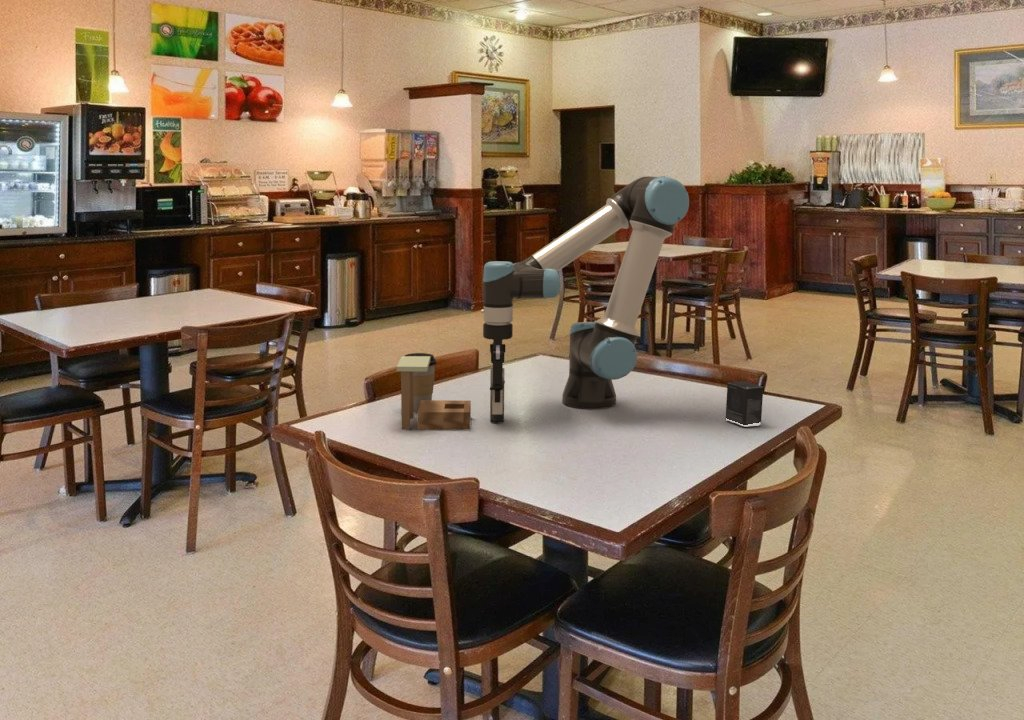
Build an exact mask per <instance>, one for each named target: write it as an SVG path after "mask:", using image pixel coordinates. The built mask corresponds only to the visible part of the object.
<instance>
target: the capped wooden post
mask: <svg viewBox="0 0 1024 720" xmlns="http://www.w3.org/2000/svg"><path fill="white" fill-rule="evenodd" d="M429 364H430V356H405V355H403V356H401V357H400V359H399V361H398V363H397V365H396V372H400V390H401V391H400V393H401V394H400V396H401V397H400V398H401V399H400V401H401V403H400V404H401V405H400V407H401V409H400V410H401V430H411V420H413V419H414V418H415V417H414V414H415V413H414V406H413V371H419V372H427V370H428V367H429Z"/></svg>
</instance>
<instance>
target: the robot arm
mask: <svg viewBox="0 0 1024 720" xmlns="http://www.w3.org/2000/svg"><path fill="white" fill-rule="evenodd" d="M605 202H606V203H605V205H603V206H602V207H601V208H599V209H598V210H596V211H594V212H592V214H590V215H589V216H588V217H586V218H584V219H583V220H581V221H580V222H579V223H577V224H576V225H574V226H572V227H571V228H569V230H566V231H565V232H563V234H561V235H559V236H558V237H556V238H555V239H553V240H552V241H551V242H550V243H547V244H546V245H545V246H543V247H542V248H541V249H539V250H538V251H536V252H535V253H533V254H531V256H529V257H527V258H525V259H524V260H522V261H519V262H518V261H517V262H515V263H513V262H512V261H500V260H499V261H498V260H495V261H488V262H486V263H485V264H484V265H483V274H482V275H483V276H482V277H483V278H482V282H483V283H482V285H483V286H482V287H483V294H482V295H483V305H482V306H483V309H481V310H480V313H481V314H483V315H482V316H483V318H482V319H483V324H482V337H483V338H484V339H487V340H493V342H492V343H490V344H489V353H490V363H492V368H493V386H492V388H490V387H489V391H490V390H492V414H503V385H502V378H503V368H504V367H503V364H504V363H505V353H506V344H505V343H503V340H509V339H512V338H513V324H512V322H514V317H513V316H514V300H521V299H523V300H526V299H528V300H529V299H531V300H532V299H533V300H534V299H538V300H539V299H544V300H546V299H554V298H556V297H558V295H559V293H560V288H561V280H560V275H559V271H560V270H562V269H564V268H565V267H566V266H568V265H569V264H571V263H572V262H574V261H575V260H577V259H578V258H579V257H581V256H582V255H583V254H585V253H587V252H588V251H590V250H591V249H593V248H594V247H596V246H597V245H599V244H600V243H602V242H603V241H604V240H606V239H607V238H609V237H610V236H612V235H614V234H615V233H616V232H618V231H620V229H624V230H625V229H626V230H627V229H629V228H631V229H632V231H631V233H630V237H629V240H628V243H627V246H626V249H625V252H624V255H623V258H622V261H621V264H620V266H619V270H618V274H617V277H616V280H615V281H614V282H615V283H614V285H613V288H612V292H611V294H610V297H609V301H608V302H607V307H606V310H605V312H604V315H603V316H602V317H601V318H599V319H597V320H596V321H582V322H580V321H579V322H573V323H572V324H571V325H570V329H569V330H570V331H569V334H568V335H569V365H568V366H569V367H568V368H569V369H568V370H569V371H568V378H567V381H566V384H565V386H564V389H563V392H562V397H561V398H562V399H561V401H562V404H564V405H565V406H568V407H571V408H576V409H583V410H585V409H586V410H600V409H609V408H611V407H614V406H616V404H617V393H616V390H615V387H614V384H613V380H614V381H615V380H619V379H623V378H625V377H627V376H628V375H629V374H630V373H631V372H632V371H633V369H634V368H635V366H636V364H637V361H638V352H637V349H636V343H637V340H638V337H639V333H638V331H637V328H636V325H637V321H638V318H639V316H640V312H641V310H642V307H643V304H644V301H645V297H646V294H647V292H648V290H649V286H650V283H651V280H652V277H653V273H654V271H655V268H656V265H657V262H658V260H659V257H660V253H661V251H662V248H663V244H664V242H665V240H666V239H667V238H670V237H671V236H673V234H674V230H675V228H676V224H677V223H679V222H680V221H681V220H683V218H685V216H686V214H687V213H688V211H689V207H690V198H689V192H688V191H687V189H686V187H685V186H684V184H682V183H681V181H679V180H678V179H676V178H672V177H669V176H668V177H667V176H665V175H664V176H641V177H639V178H637V179H635V180H633V181H631V182H630V183H628V184H627V185H626V186H624V187H623V188H621V189H619V190H618V191H617V192H616V193H615V194H612V195H611V196H610V197H608V198H607V199H606V201H605ZM505 383H506V381H505V379H504V384H505Z"/></svg>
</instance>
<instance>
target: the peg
mask: <svg viewBox="0 0 1024 720" xmlns="http://www.w3.org/2000/svg"><path fill="white" fill-rule="evenodd" d="M489 373H490V374H489V375H490V376H489V377H490V378H489V379H490V380H489V381H490V385H489V386H490V387H489V392H490V394H489V397H490V398H489V401H490V402H489V403H490V404H489V408H490V409H489V411H490V412H489V413H490V414H489V417H490V418H489V422H490V423H493V424H502V423H505V383H504V380H505V368H504V367H503V378H502V385H503V414H492V390H490V388H492V386H493V367H491V368H490V371H489Z"/></svg>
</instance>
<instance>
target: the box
mask: <svg viewBox="0 0 1024 720" xmlns="http://www.w3.org/2000/svg"><path fill="white" fill-rule="evenodd" d="M726 386H727V387H726V390H727V391H726V404H725V405H726V406H725V419H726V418H727V419H729V420H732V421H735V422H738V423H740V424H743V425H748V424H753V423H759V422H761V423H762V414H763V413H762V412H763V411H762V410H763V401H764V400H763V397H764V386H761V385H758V384H756V383H751V382H749V381H745V380H739V381H730V382H727V385H726Z"/></svg>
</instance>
